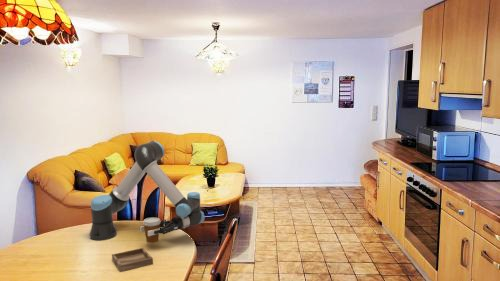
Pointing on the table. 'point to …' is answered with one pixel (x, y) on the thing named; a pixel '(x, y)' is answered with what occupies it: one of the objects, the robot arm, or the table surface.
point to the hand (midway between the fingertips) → (144, 231)
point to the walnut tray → (132, 259)
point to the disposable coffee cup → (151, 228)
